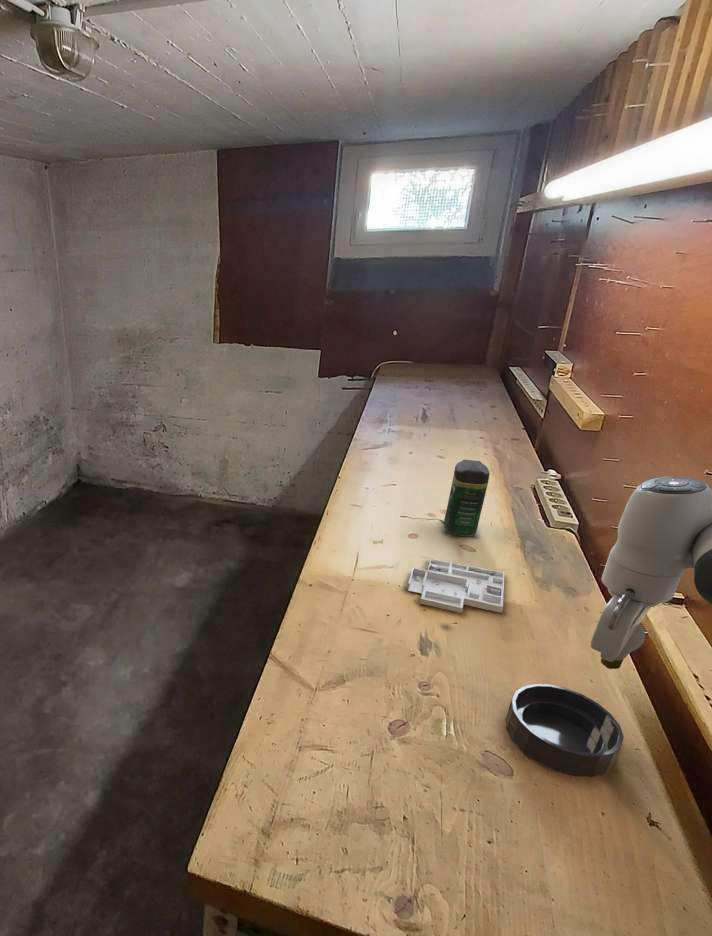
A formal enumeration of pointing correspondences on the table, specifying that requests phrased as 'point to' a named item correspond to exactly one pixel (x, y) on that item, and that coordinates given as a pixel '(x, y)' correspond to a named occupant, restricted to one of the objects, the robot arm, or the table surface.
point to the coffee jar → (466, 497)
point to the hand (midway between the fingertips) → (613, 649)
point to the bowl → (564, 730)
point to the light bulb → (627, 648)
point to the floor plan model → (458, 586)
